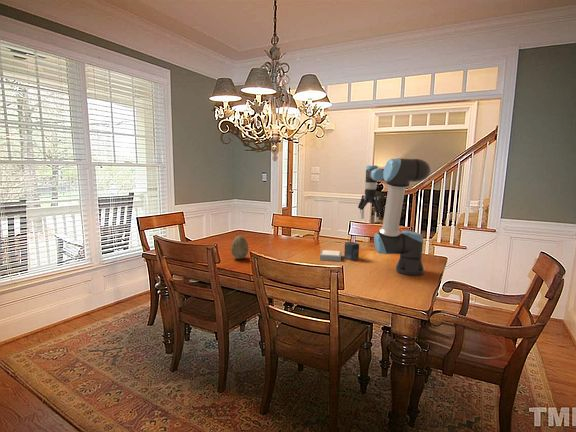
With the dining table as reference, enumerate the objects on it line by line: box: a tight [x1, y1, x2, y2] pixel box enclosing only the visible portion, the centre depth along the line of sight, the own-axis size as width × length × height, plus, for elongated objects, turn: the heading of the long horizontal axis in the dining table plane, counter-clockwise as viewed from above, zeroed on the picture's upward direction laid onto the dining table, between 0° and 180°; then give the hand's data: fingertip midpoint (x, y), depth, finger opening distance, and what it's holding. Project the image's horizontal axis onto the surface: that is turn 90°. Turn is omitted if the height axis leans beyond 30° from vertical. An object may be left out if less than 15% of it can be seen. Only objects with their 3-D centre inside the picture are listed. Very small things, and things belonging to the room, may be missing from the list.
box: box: [343, 241, 360, 262], centre depth 214 cm, size 8×6×11 cm
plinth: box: [319, 249, 342, 262], centre depth 216 cm, size 13×13×3 cm
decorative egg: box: [230, 235, 249, 260], centre depth 209 cm, size 11×11×15 cm
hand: (369, 220), depth 226 cm, fingers open, 13 cm apart
